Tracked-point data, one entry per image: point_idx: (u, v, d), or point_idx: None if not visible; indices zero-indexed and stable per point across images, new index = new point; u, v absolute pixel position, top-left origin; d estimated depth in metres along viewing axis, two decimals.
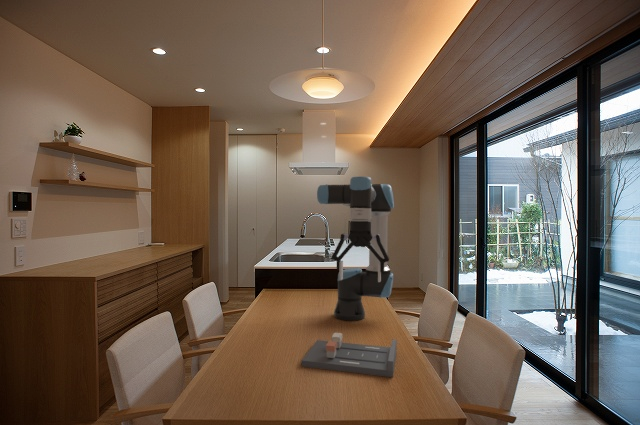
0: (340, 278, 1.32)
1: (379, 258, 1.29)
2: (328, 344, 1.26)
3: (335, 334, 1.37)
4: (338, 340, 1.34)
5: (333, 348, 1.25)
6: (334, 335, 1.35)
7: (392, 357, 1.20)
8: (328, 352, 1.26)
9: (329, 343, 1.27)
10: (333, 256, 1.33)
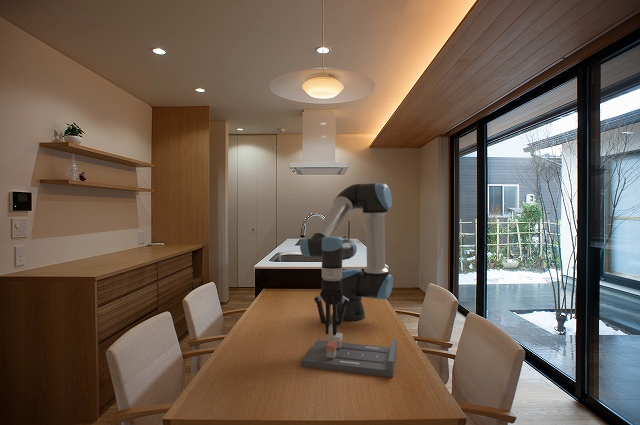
0: None
1: (334, 321, 1.35)
2: (328, 344, 1.26)
3: None
4: (338, 340, 1.34)
5: (333, 348, 1.25)
6: (334, 335, 1.35)
7: (392, 357, 1.20)
8: (328, 352, 1.26)
9: (329, 343, 1.27)
10: (322, 320, 1.36)
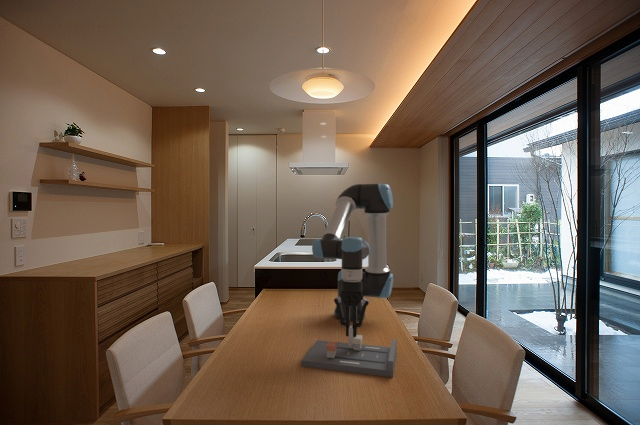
0: (349, 344, 1.34)
1: (354, 323, 1.33)
2: (328, 344, 1.26)
3: None
4: (359, 342, 1.32)
5: (333, 348, 1.25)
6: (354, 337, 1.34)
7: (392, 357, 1.20)
8: (328, 352, 1.26)
9: (329, 343, 1.27)
10: (341, 322, 1.34)
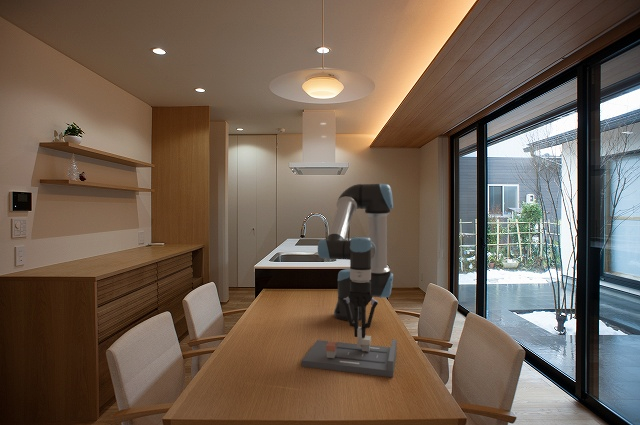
0: (358, 345, 1.33)
1: (363, 323, 1.32)
2: (328, 344, 1.26)
3: None
4: (368, 343, 1.31)
5: (333, 348, 1.25)
6: (363, 338, 1.33)
7: (392, 357, 1.20)
8: (328, 352, 1.26)
9: (329, 343, 1.27)
10: (350, 323, 1.33)
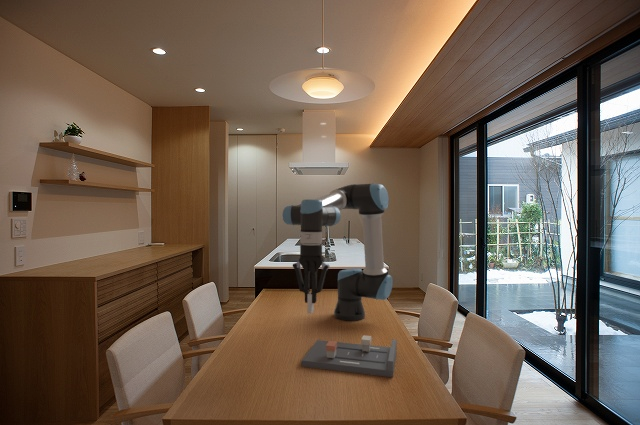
0: (308, 311, 1.28)
1: (313, 288, 1.27)
2: (328, 344, 1.26)
3: (364, 337, 1.34)
4: (368, 343, 1.31)
5: (333, 348, 1.25)
6: (363, 338, 1.33)
7: (392, 357, 1.20)
8: (328, 352, 1.26)
9: (329, 343, 1.27)
10: (300, 288, 1.29)
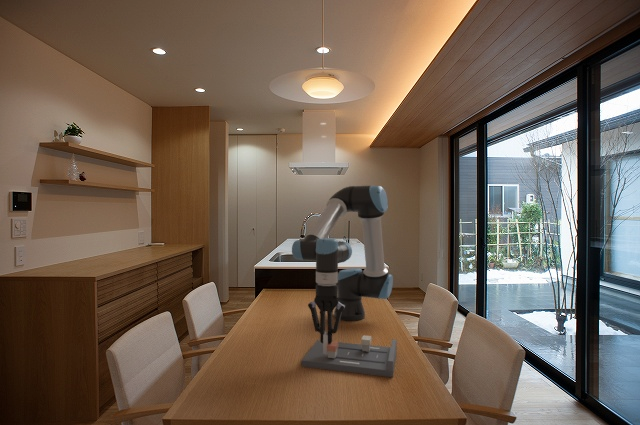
0: (324, 352, 1.27)
1: (329, 329, 1.26)
2: (329, 344, 1.26)
3: (364, 337, 1.34)
4: (368, 343, 1.31)
5: (334, 348, 1.25)
6: (363, 338, 1.33)
7: (392, 357, 1.20)
8: (329, 352, 1.26)
9: None
10: (316, 328, 1.27)
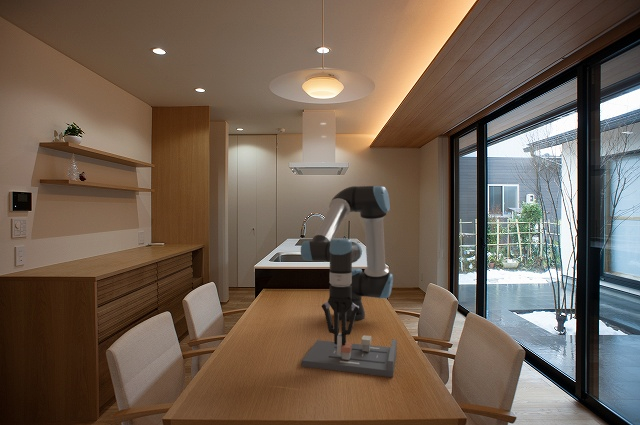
0: (338, 353, 1.25)
1: (343, 330, 1.25)
2: (343, 346, 1.25)
3: (364, 337, 1.34)
4: (368, 343, 1.31)
5: (348, 350, 1.24)
6: (363, 338, 1.33)
7: (392, 357, 1.20)
8: (343, 354, 1.24)
9: (344, 345, 1.26)
10: (329, 329, 1.26)
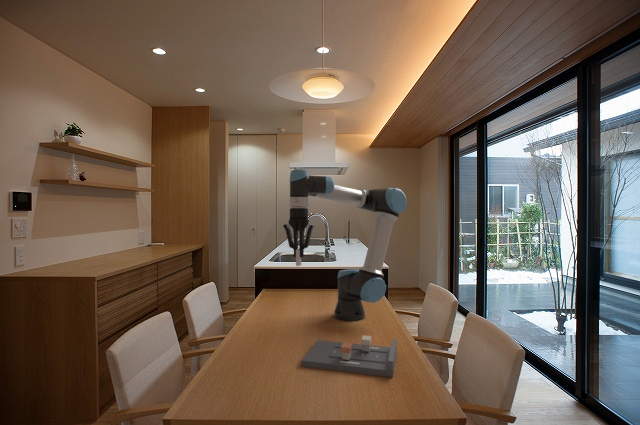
0: (296, 264, 1.52)
1: (300, 244, 1.51)
2: (343, 346, 1.25)
3: (364, 337, 1.34)
4: (368, 343, 1.31)
5: (348, 350, 1.24)
6: (363, 338, 1.33)
7: (392, 357, 1.20)
8: (343, 354, 1.24)
9: (344, 345, 1.26)
10: (290, 245, 1.52)
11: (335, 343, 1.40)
